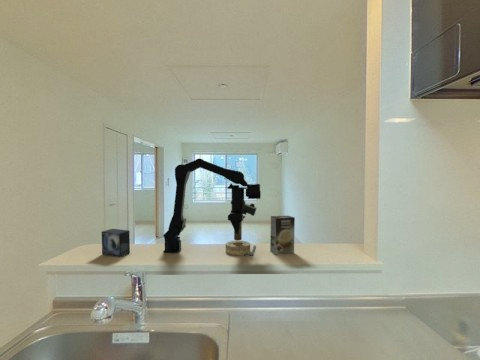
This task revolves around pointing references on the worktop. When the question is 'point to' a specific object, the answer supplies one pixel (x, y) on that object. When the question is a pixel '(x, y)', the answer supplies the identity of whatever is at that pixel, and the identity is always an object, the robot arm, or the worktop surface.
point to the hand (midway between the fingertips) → (237, 232)
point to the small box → (115, 242)
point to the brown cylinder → (239, 235)
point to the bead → (238, 247)
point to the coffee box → (282, 234)
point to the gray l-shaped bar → (252, 252)
